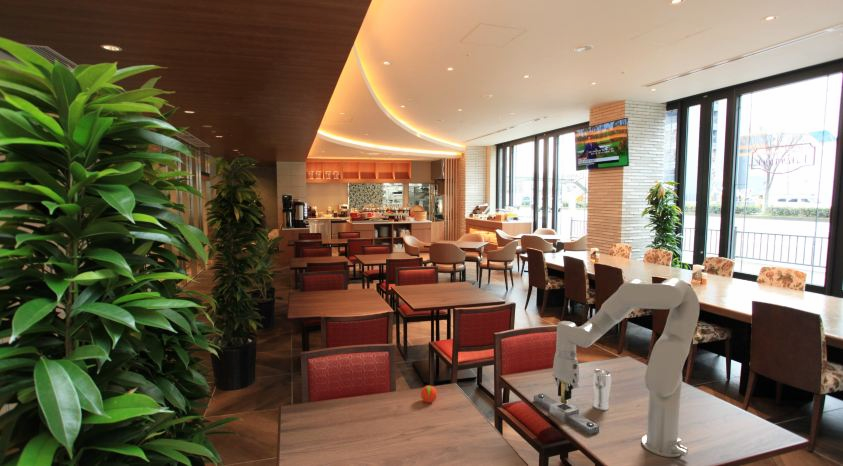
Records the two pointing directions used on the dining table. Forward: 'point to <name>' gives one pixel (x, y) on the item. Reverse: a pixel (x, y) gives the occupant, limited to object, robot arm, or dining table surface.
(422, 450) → the dining table surface
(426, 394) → the red tomato
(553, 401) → the studded connector plate
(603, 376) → the metal tumbler
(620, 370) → the dining table surface
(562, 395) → the link pin
